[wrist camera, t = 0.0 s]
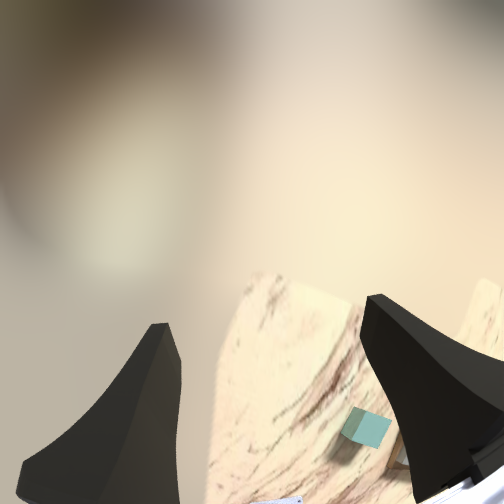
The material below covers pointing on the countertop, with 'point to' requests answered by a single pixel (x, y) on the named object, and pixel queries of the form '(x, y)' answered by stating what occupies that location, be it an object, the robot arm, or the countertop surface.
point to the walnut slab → (397, 448)
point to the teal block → (365, 427)
